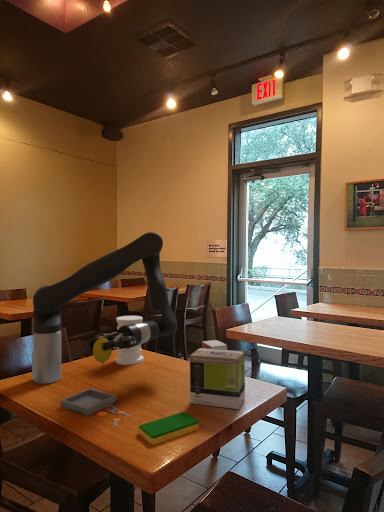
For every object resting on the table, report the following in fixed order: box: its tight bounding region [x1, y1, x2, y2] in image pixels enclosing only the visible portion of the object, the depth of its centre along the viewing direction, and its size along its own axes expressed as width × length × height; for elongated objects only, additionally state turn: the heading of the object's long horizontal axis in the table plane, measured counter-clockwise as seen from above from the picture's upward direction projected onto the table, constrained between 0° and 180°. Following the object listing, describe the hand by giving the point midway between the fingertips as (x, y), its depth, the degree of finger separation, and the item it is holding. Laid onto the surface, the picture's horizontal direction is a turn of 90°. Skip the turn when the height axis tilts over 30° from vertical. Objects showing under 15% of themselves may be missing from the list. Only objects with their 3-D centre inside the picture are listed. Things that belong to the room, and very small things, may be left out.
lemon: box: [92, 337, 113, 365], centre depth 109 cm, size 6×6×8 cm
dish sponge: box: [138, 411, 200, 446], centre depth 92 cm, size 7×14×2 cm, turn 126°
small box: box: [201, 339, 228, 350], centre depth 130 cm, size 8×6×13 cm
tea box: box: [189, 347, 246, 410], centre depth 111 cm, size 15×10×15 cm
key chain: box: [96, 404, 132, 427], centre depth 101 cm, size 13×7×1 cm, turn 41°
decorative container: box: [114, 315, 144, 366], centre depth 152 cm, size 12×12×18 cm
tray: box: [60, 387, 117, 417], centre depth 108 cm, size 11×11×2 cm
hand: (95, 345), depth 107 cm, fingers closed on lemon, 5 cm apart
